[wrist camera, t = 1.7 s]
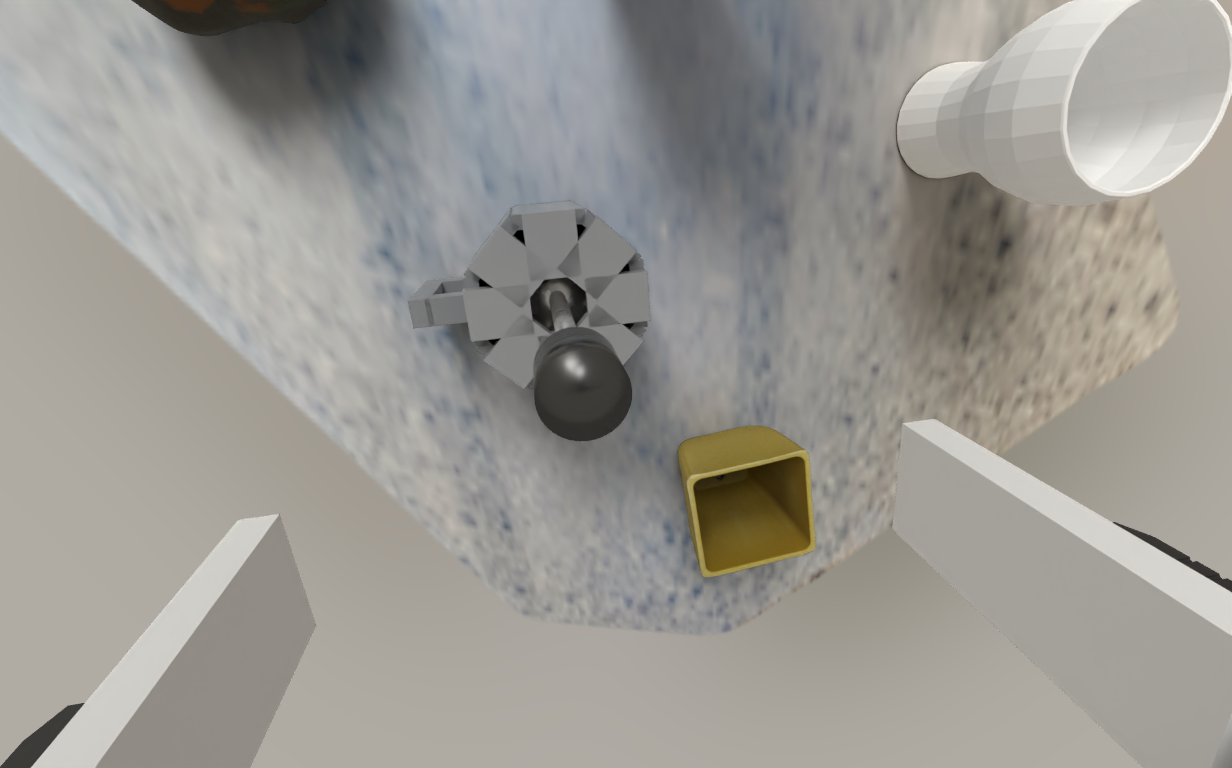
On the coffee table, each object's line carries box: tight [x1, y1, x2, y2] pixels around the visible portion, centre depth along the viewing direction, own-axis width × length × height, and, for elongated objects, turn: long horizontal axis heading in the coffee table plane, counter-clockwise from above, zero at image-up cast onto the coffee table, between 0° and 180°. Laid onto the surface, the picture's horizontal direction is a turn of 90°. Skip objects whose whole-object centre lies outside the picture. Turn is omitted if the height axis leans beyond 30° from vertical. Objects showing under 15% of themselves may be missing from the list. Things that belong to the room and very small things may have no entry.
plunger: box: [530, 277, 632, 441], centre depth 27 cm, size 6×6×17 cm
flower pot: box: [678, 426, 816, 578], centre depth 45 cm, size 9×9×9 cm
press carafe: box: [408, 201, 650, 389], centre depth 37 cm, size 10×14×11 cm
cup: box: [897, 0, 1232, 206], centre depth 36 cm, size 11×11×15 cm
